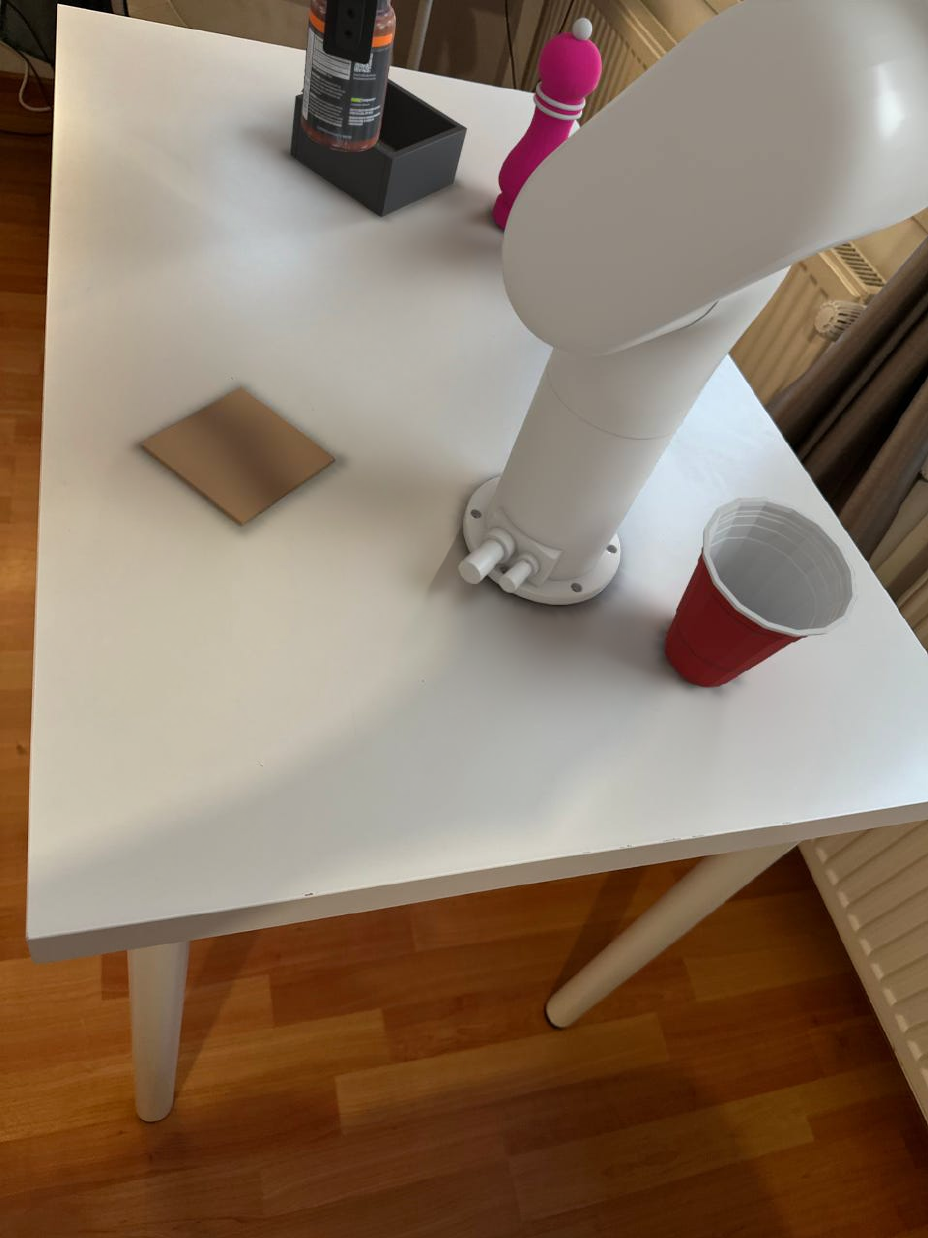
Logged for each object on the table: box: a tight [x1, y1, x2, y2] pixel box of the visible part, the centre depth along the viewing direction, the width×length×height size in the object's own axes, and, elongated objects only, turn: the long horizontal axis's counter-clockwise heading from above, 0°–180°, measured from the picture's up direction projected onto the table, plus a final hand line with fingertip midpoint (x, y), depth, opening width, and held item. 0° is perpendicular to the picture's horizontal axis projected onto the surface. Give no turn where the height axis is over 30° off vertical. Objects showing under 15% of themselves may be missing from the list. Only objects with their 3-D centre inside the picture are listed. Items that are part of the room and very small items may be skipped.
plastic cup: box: [664, 496, 858, 688], centre depth 61 cm, size 11×11×12 cm
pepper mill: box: [492, 17, 603, 231], centre depth 87 cm, size 7×7×20 cm
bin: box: [289, 78, 468, 218], centre depth 92 cm, size 13×13×6 cm
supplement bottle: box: [300, 0, 397, 152], centre depth 62 cm, size 6×6×11 cm
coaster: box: [140, 386, 336, 527], centre depth 66 cm, size 10×10×1 cm
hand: (352, 34), depth 61 cm, fingers closed on supplement bottle, 6 cm apart
